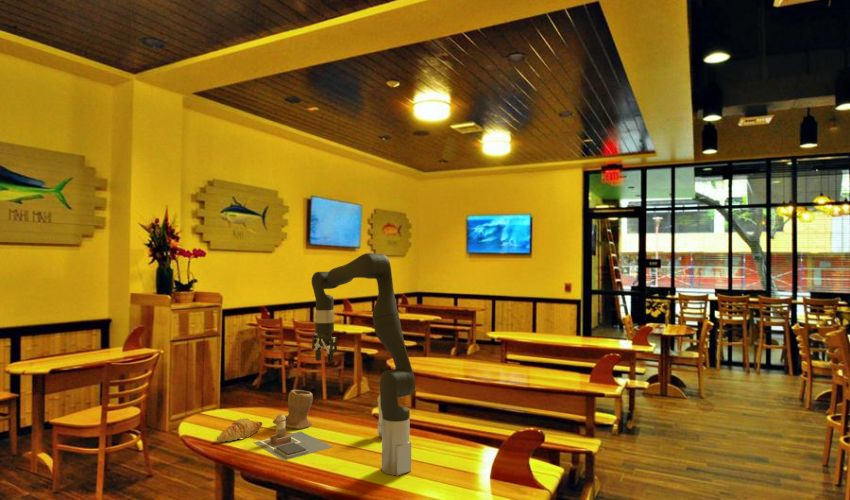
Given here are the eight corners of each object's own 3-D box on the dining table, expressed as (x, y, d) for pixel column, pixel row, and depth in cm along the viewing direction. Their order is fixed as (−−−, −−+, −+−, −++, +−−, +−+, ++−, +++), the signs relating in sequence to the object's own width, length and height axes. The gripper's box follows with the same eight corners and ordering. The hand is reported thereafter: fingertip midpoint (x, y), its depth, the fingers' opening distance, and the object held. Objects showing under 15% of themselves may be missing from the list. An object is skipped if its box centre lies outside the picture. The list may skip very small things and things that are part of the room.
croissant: (222, 454, 194) (228, 437, 192) (206, 437, 199) (213, 421, 197) (265, 437, 212) (272, 421, 211) (250, 422, 217) (256, 407, 215)
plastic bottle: (393, 439, 202) (393, 388, 202) (376, 439, 202) (376, 388, 202) (394, 434, 208) (395, 384, 209) (377, 434, 208) (378, 384, 209)
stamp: (290, 442, 196) (291, 414, 196) (277, 445, 192) (277, 417, 192) (283, 438, 200) (284, 411, 200) (270, 441, 196) (270, 414, 196)
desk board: (333, 449, 191) (333, 443, 191) (283, 463, 177) (283, 456, 177) (300, 433, 208) (300, 428, 209) (253, 444, 195) (253, 439, 195)
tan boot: (318, 425, 219) (319, 389, 220) (298, 433, 209) (299, 395, 209) (291, 419, 227) (292, 385, 227) (271, 427, 216) (272, 391, 217)
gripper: (342, 321, 205) (342, 363, 204) (322, 319, 215) (322, 358, 215) (326, 323, 200) (326, 365, 199) (306, 320, 210) (306, 360, 209)
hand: (324, 361), depth 207 cm, fingers open, 8 cm apart
